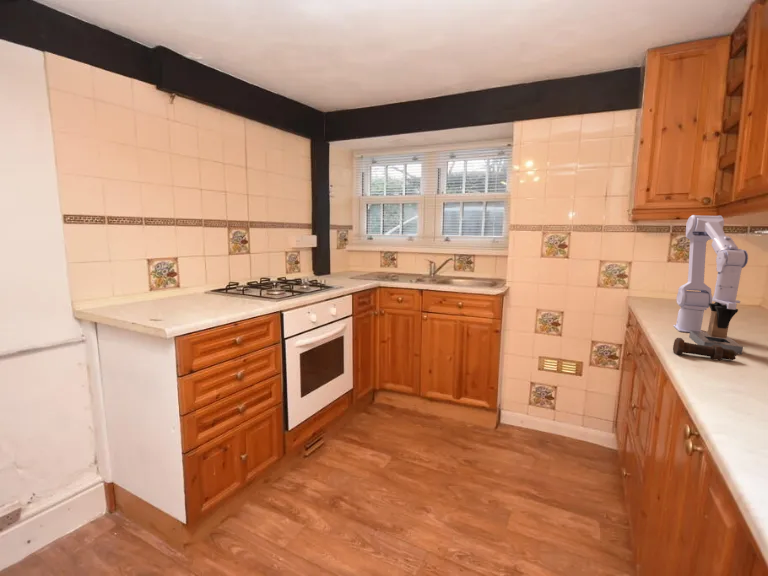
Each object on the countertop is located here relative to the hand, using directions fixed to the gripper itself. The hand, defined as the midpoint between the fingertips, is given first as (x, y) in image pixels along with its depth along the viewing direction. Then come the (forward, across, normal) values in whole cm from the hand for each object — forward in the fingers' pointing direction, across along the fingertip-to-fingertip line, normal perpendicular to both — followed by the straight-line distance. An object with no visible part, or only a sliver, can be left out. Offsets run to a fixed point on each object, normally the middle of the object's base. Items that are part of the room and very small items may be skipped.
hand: (719, 326), depth 133 cm
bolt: (+8, -16, +8) cm, 19 cm away
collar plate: (+7, +2, 0) cm, 7 cm away
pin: (+3, 0, 0) cm, 3 cm away
